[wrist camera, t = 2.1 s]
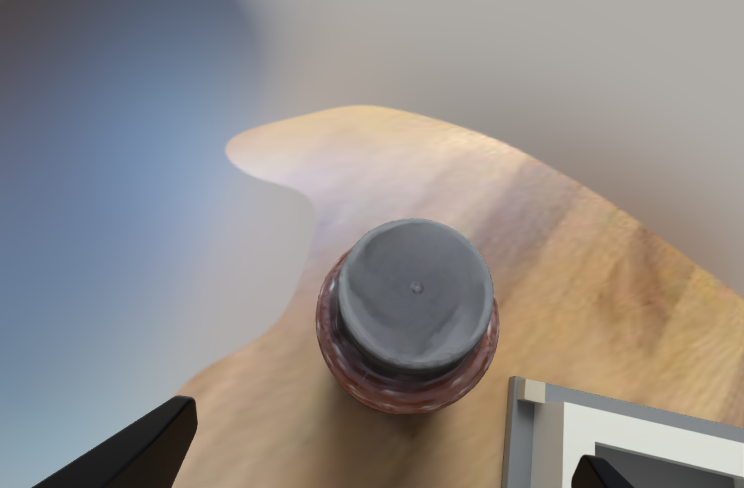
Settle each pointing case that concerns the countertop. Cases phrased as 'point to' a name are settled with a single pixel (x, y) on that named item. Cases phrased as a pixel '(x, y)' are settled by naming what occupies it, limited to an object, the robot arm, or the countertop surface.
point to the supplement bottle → (408, 317)
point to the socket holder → (613, 441)
